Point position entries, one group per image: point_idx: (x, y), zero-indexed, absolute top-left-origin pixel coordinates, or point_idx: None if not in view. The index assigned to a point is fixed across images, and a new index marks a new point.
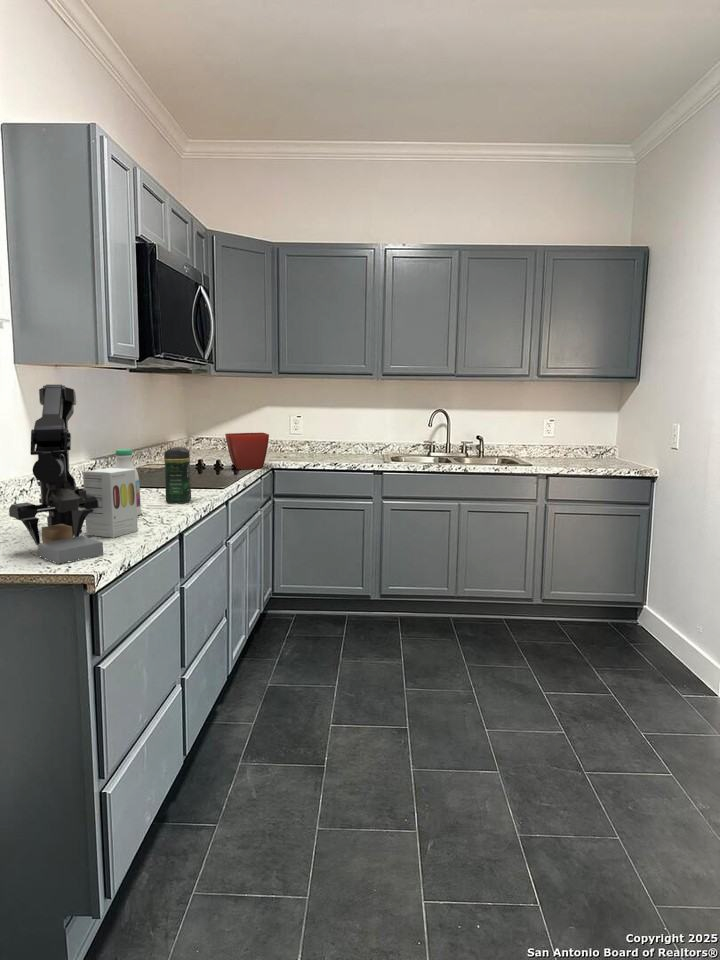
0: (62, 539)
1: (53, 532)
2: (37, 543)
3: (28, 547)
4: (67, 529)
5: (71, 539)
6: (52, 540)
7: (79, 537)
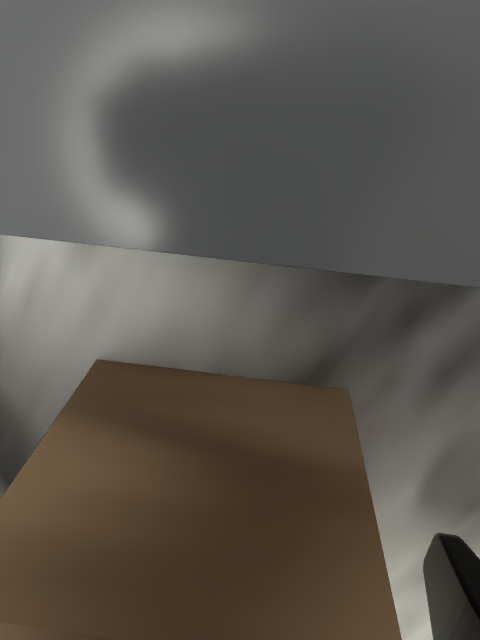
0: (361, 264)
1: (342, 606)
2: (476, 558)
3: None
4: (53, 577)
5: (248, 58)
6: (356, 481)
7: (8, 108)
